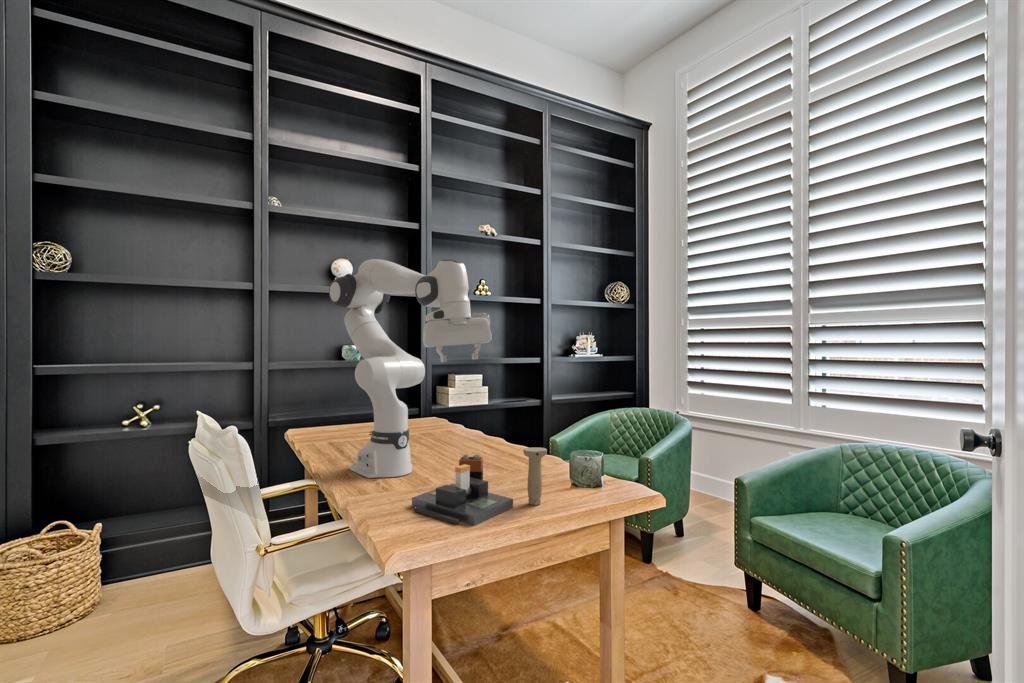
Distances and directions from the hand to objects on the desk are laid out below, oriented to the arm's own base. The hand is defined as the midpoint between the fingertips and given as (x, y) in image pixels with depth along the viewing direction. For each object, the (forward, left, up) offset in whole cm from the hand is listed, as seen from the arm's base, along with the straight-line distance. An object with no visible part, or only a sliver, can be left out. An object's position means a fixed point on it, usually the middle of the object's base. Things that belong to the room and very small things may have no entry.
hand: (459, 360), depth 144 cm
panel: (+9, -9, -39) cm, 41 cm away
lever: (+9, -9, -36) cm, 38 cm away
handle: (+23, +5, -39) cm, 46 cm away
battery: (0, +5, -39) cm, 39 cm away
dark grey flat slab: (+9, -9, -39) cm, 41 cm away
